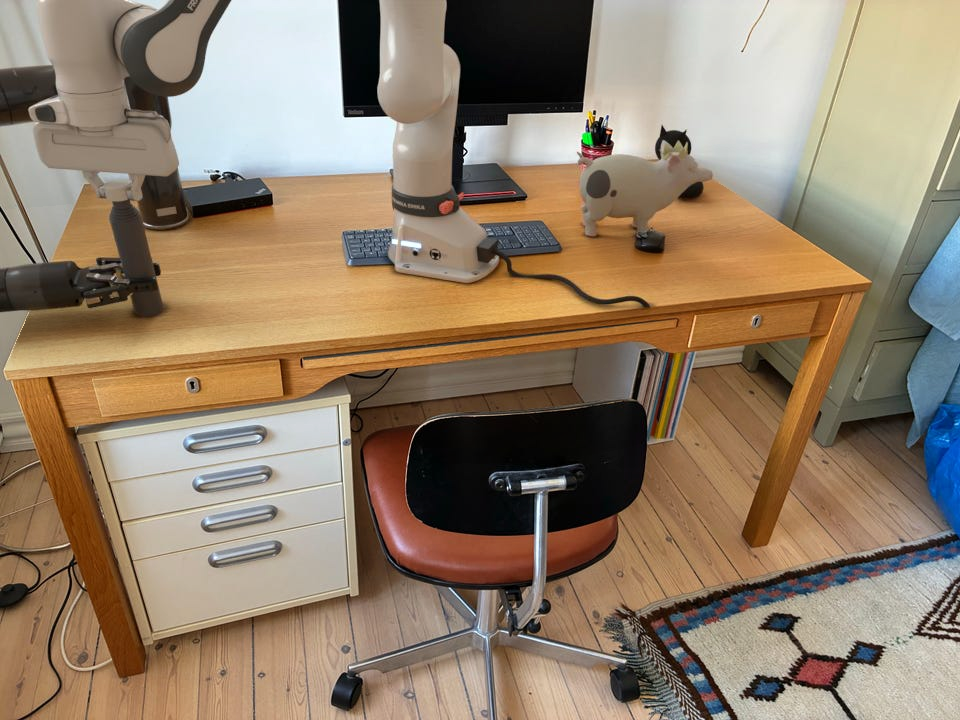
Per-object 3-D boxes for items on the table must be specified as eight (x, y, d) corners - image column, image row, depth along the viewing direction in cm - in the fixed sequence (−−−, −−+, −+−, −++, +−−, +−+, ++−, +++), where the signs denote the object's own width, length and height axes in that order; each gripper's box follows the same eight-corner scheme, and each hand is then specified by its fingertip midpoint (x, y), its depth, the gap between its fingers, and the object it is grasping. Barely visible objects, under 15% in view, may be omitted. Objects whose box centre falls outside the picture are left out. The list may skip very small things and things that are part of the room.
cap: (138, 194, 112) (135, 181, 111) (123, 203, 109) (120, 189, 108) (116, 191, 113) (113, 178, 112) (101, 200, 110) (97, 187, 109)
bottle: (131, 308, 123) (97, 186, 110) (158, 300, 125) (128, 180, 113) (139, 319, 120) (106, 196, 108) (167, 311, 122) (138, 189, 110)
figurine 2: (633, 187, 180) (643, 126, 171) (662, 174, 188) (673, 116, 180) (689, 205, 171) (702, 142, 162) (717, 191, 179) (731, 131, 171)
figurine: (703, 243, 153) (724, 151, 141) (570, 238, 152) (580, 145, 141) (692, 224, 161) (711, 135, 150) (566, 219, 161) (576, 130, 150)
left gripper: (28, 286, 108) (149, 275, 112) (47, 246, 119) (157, 237, 123) (43, 328, 112) (159, 316, 116) (61, 286, 123) (166, 276, 127)
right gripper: (175, 106, 105) (193, 195, 113) (43, 97, 107) (69, 186, 114) (155, 117, 100) (175, 210, 108) (16, 108, 101) (46, 201, 109)
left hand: (158, 276), depth 120 cm, fingers closed on bottle, 4 cm apart
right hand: (120, 198), depth 111 cm, fingers closed on cap, 4 cm apart
